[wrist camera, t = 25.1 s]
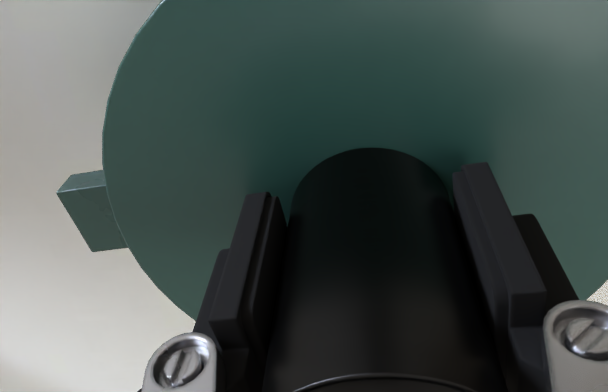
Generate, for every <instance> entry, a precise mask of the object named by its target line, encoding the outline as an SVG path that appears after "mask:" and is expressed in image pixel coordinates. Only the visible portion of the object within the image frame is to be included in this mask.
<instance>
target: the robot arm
mask: <svg viewBox="0 0 608 392" xmlns="http://www.w3.org/2000/svg"><path fill="white" fill-rule="evenodd" d="M453 199H454V215H455V218H456V221H457V224H458V228H459V231H460V234H461V238H462V241H463V244H464V247H465V251H466V254H467V257H468V261H469V264H470V267H471V270H472V274H473V277H474V280H475V284H476V287H477V290H478V293H479V297H480V300H481V303H482V306H483V310H484V313H485V316H486V320H487V323H488V326H489V329H490V333H491V336H492V339H493V343H494V346H495V349H496V352H497V356H498V359H499V362H500V365H501V369H502V372H503V375H504V379H505V382H506V385H507V388H508V392H608V306H607V305H604V304H601V303H598V302H593V301H587V300H579V298H578V296H577V294H576V292H575V291H574V289H573V287H572V285H571V283H570V281H569V279H568V277H567V275H566V273H565V272H564V270H563V268H562V266H561V264H560V262H559V260H558V258H557V256H556V254H555V252H554V251H553V249H552V247H551V245H550V243H549V241H548V239H547V237H546V235H545V233H544V232H543V230H542V228H541V226H540V224H539V222H538V220H537V219H536V217H535V216H534V215H533V214H532V213H530V214H522V215H513V216H512V214H511V212H510V210H509V208H508V205H507V203H506V201H505V199H504V197H503V195H502V192H501V190H500V188H499V186H498V184H497V182H496V179H495V177H494V175H493V173H492V171H491V169H490V166H489V164H488V163H487V162H481V163H473V164H466V165H462V166H461V171H460V172H453ZM287 228H288V226H287V223H286V219H285V216H284V213H283V209H282V206H281V202H280V199H279V197H278V196H274V197H272V196H271V194H270V192H260V193H253V194H247V195H246V196H245V199H244V202H243V206H242V209H241V212H240V216H239V219H238V222H237V226H236V229H235V232H234V236H233V239H232V242H231V246H230V248H228V249H222V250H221V251H219V254H218V256H217V259H216V262H215V265H214V268H213V271H212V274H211V277H210V280H209V283H208V286H207V289H206V292H205V295H204V298H203V301H202V305H201V308H200V311H199V314H198V317H197V320H196V323H195V326H194V329H193V332H191V333H184V334H181V335H178V336H175V337H173V338H172V339H170V340H168V341H167V342H165V343H164V344H162V345H161V346H160V347H159V348H158V349H157V350H156V351H155V352H154V354H153V355H152V357H151V358H150V360H149V361H148V364H147V367H146V370H145V375H144V380H143V385H142V389H140V390H139V391H138V392H262V387H263V380H264V374H265V368H266V361H267V355H268V349H269V342H270V336H271V329H272V323H273V317H274V310H275V304H276V298H277V291H278V285H279V279H280V272H281V266H282V260H283V253H284V247H285V241H286V234H287Z"/></svg>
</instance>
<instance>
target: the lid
mask: <svg viewBox="0 0 608 392" xmlns="http://www.w3.org/2000/svg"><path fill="white" fill-rule="evenodd" d="M481 162H487V163H488V164H489V166H490V169H491V171H492V173H493V175H494V177H495V179H496V182H497V184H498V186H499V188H500V190H501V192H502V195H503V197H504V199H505V201H506V203H507V205H508V208H509V210H510V212H511V214H512V216H513V215H522V214H530V213H532V214H533V215H534V216H535V217H536V219H537V220H538V222H539V224H540V226H541V228H542V230H543V232H544V233H545V235H546V237H547V239H548V241H549V243H550V245H551V247H552V249H553V251H554V252H555V254H556V256H557V258H558V260H559V262H560V264H561V266H562V268H563V270H564V272H565V273H566V275H567V277H568V279H569V281H570V283H571V285H572V287H573V289H574V291H575V292H576V294H577V296H578V298H579V300H587V299H588V298H589V297H590V296H591V295H592V294H593V293H594V292H596V291H597V290H598V289H599V288H600V287H601V286H602V285H603V284H604V283H605V282H606V281H607V280H608V0H162V1H161V2H160V3H159V4H158V6H157V7H156V8H155V10H154V11H153V12H152V14H151V15H150V16H149V18H148V19H147V20H146V22H145V23H144V24H143V26H142V27H141V28H140V30H139V31H138V32H137V34H136V35H135V37H134V39H133V41H132V43H131V45H130V47H129V48H128V50H127V52H126V54H125V56H124V58H123V60H122V62H121V64H120V65H119V68H118V71H117V74H116V77H115V80H114V82H113V85H112V88H111V91H110V94H109V97H108V101H107V107H106V113H105V119H104V126H103V132H102V165H103V171H104V178H105V184H106V191H107V195H108V198H109V202H110V205H111V208H112V211H113V215H114V218H115V221H116V223H117V225H118V227H119V229H120V231H121V234H122V236H123V238H124V240H125V242H126V244H127V246H128V248H129V249H130V251H131V252H132V254H133V255H134V257H135V259H136V260H137V262H138V263H139V265H140V266H141V268H142V269H143V270H144V272H145V273H146V274H147V275H148V276H149V278H150V279H151V280H152V281H153V283H154V284H155V285H156V286H157V287H158V288H159V289H160V290H161V291H162V292H163V293H164V294H165V295H166V296H167V297H168V298H169V299H170V300H171V301H172V302H173V303H174V304H175V305H176V306H177V307H178V308H180V309H181V310H182V311H184V312H185V313H186V314H187V315H189V316H190V317H191V318H193V319H194V320H195V321H196V320H197V317H198V314H199V311H200V308H201V305H202V301H203V298H204V295H205V292H206V289H207V286H208V283H209V280H210V277H211V274H212V271H213V268H214V265H215V262H216V259H217V256H218V254H219V251H221V250H222V249H228V248H230V246H231V242H232V239H233V236H234V232H235V229H236V226H237V222H238V219H239V216H240V212H241V209H242V206H243V202H244V199H245V196H246V195H247V194H253V193H260V192H270V194H271V196H272V197H274V196H278V197H279V199H280V202H281V206H282V209H283V213H284V216H285V219H286V223H287V226H288V228H287V234H286V241H285V247H284V253H283V260H282V266H281V272H280V279H279V285H278V291H277V298H276V304H275V310H274V317H273V323H272V329H271V336H270V342H269V349H268V355H267V361H266V368H265V374H264V380H263V387H262V392H508V388H507V385H506V382H505V379H504V375H503V372H502V369H501V365H500V362H499V359H498V356H497V352H496V349H495V346H494V343H493V339H492V336H491V333H490V329H489V326H488V323H487V320H486V316H485V313H484V310H483V306H482V303H481V300H480V297H479V293H478V290H477V287H476V284H475V280H474V277H473V274H472V270H471V267H470V264H469V261H468V257H467V254H466V251H465V247H464V244H463V241H462V238H461V234H460V231H459V228H458V224H457V221H456V218H455V215H454V199H453V172H460V171H461V166H462V165H466V164H473V163H481Z"/></svg>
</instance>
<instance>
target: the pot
mask: <svg viewBox="0 0 608 392" xmlns="http://www.w3.org/2000/svg"><path fill="white" fill-rule="evenodd" d="M56 193H57V195H58V197H59V198H60V200H61V202H62V203H63V205H64V207H65V208H66V210H67V212H68V213H69V215H70V217H71V218H72V220H73V221H74V223H75V225H76V226H77V228H78V230H79V231H80V233H81V235H82V236H83V238H84V239H85V241H86V243H87V244H88V246H89V248H90V249H91V251H92V252H97V251H105V250H113V249H121V248H128V246H127V244H126V242H125V240H124V238H123V236H122V234H121V231H120V229H119V227H118V225H117V223H116V221H115V218H114V215H113V211H112V208H111V205H110V202H109V198H108V195H107V191H106V184H105V178H104V171H103V170H100V171H93V172H87V173H80V174H74V175H71V176H70V177H69V178H68V179H67V180H66V182H65V183H64V184H63V185H62V186H61V187H60V188H59V190H58V191H57V192H56Z"/></svg>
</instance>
